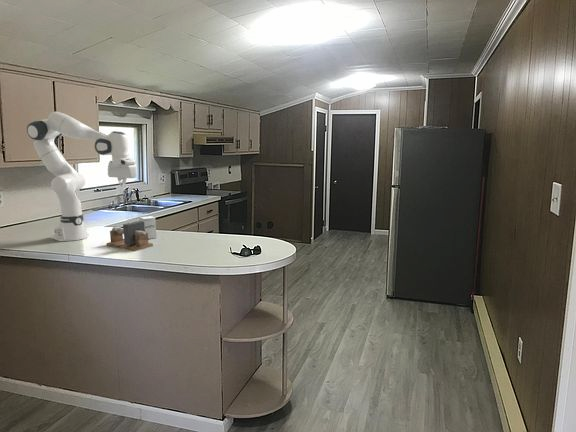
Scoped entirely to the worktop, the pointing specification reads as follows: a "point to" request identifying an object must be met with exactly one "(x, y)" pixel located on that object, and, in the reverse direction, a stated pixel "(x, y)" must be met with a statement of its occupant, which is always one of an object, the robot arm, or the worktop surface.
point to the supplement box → (149, 226)
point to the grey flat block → (132, 231)
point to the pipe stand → (118, 240)
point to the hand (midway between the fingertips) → (122, 185)
